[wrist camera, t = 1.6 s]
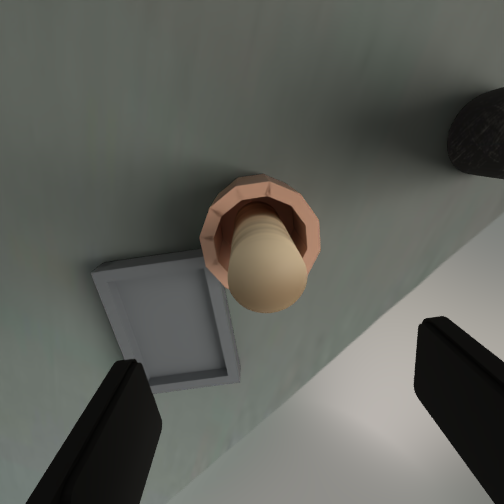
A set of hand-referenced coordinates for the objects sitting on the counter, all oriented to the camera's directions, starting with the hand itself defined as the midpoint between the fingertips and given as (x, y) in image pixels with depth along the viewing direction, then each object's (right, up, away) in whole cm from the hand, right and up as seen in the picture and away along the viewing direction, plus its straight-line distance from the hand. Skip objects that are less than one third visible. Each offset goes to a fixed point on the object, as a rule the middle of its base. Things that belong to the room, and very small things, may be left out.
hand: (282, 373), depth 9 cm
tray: (-10, -4, +22) cm, 24 cm away
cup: (-1, +7, +18) cm, 19 cm away
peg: (-1, +7, +17) cm, 18 cm away
